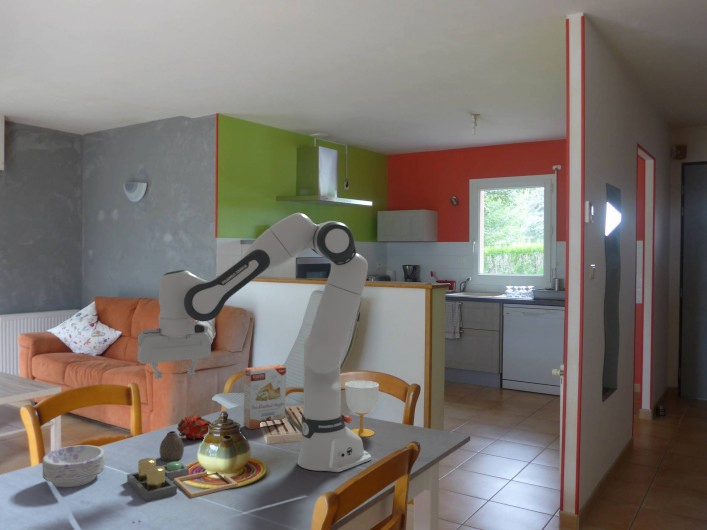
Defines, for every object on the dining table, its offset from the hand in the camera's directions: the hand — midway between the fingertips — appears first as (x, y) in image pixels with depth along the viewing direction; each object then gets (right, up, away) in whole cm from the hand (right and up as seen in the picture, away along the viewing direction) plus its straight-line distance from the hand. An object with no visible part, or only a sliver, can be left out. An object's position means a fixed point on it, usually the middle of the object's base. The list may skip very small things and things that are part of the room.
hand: (174, 376), depth 171 cm
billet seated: (-4, -26, -11) cm, 29 cm away
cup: (+53, -27, +38) cm, 71 cm away
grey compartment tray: (-2, -28, -14) cm, 31 cm away
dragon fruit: (-2, -26, +30) cm, 40 cm away
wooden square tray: (+11, -28, -11) cm, 32 cm away
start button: (+1, -26, -4) cm, 27 cm away
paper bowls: (-25, -27, -8) cm, 38 cm away
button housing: (+1, -27, -4) cm, 28 cm away
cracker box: (+19, -26, +46) cm, 56 cm away
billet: (0, -27, -16) cm, 31 cm away
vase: (-3, -27, +8) cm, 29 cm away
